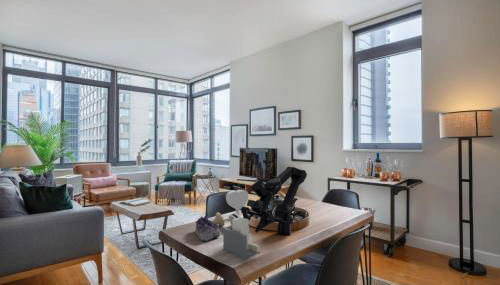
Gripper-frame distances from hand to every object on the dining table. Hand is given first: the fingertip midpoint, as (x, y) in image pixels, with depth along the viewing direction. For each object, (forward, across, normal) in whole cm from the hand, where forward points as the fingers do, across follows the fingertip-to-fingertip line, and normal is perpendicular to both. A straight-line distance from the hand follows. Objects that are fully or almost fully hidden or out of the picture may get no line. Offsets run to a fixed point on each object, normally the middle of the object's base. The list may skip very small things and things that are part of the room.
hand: (248, 229), depth 125 cm
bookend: (+10, 0, +2) cm, 10 cm away
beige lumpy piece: (+1, -36, +12) cm, 38 cm away
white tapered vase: (+9, 0, +2) cm, 9 cm away
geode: (+9, -29, +3) cm, 31 cm away
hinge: (-4, -24, +17) cm, 29 cm away
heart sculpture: (-15, -41, +28) cm, 52 cm away
